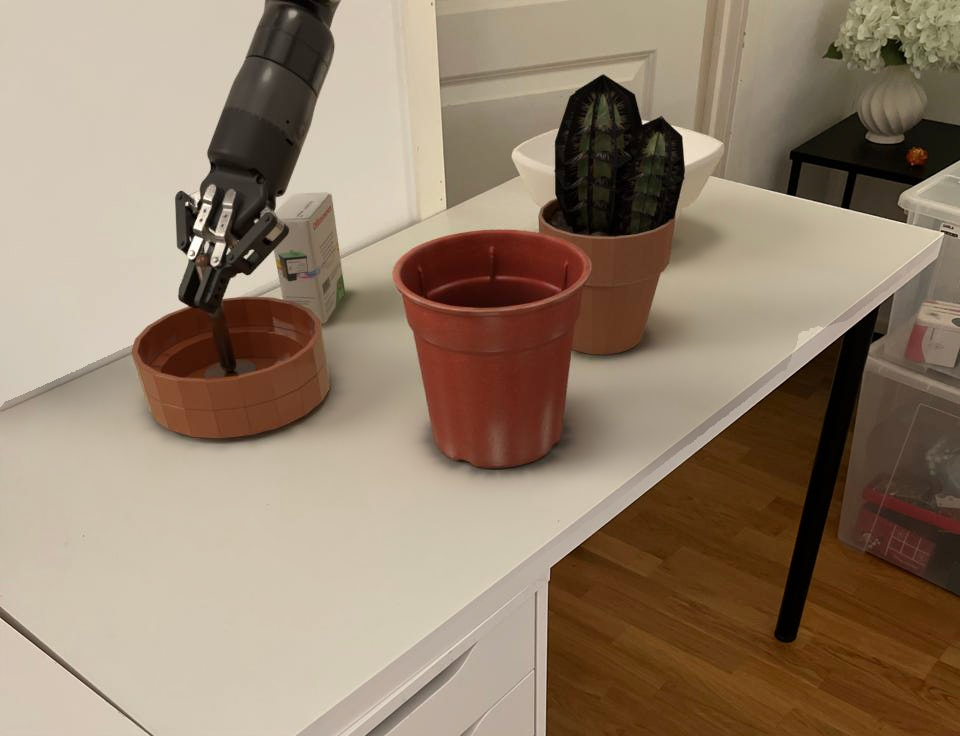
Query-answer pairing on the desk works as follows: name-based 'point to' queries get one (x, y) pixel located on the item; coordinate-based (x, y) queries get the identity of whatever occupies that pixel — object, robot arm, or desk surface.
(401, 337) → the desk surface
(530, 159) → the bowl
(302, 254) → the ink box
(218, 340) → the brown peg stand
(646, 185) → the potted plant
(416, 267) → the flower pot
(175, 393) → the shallow terracotta planter
